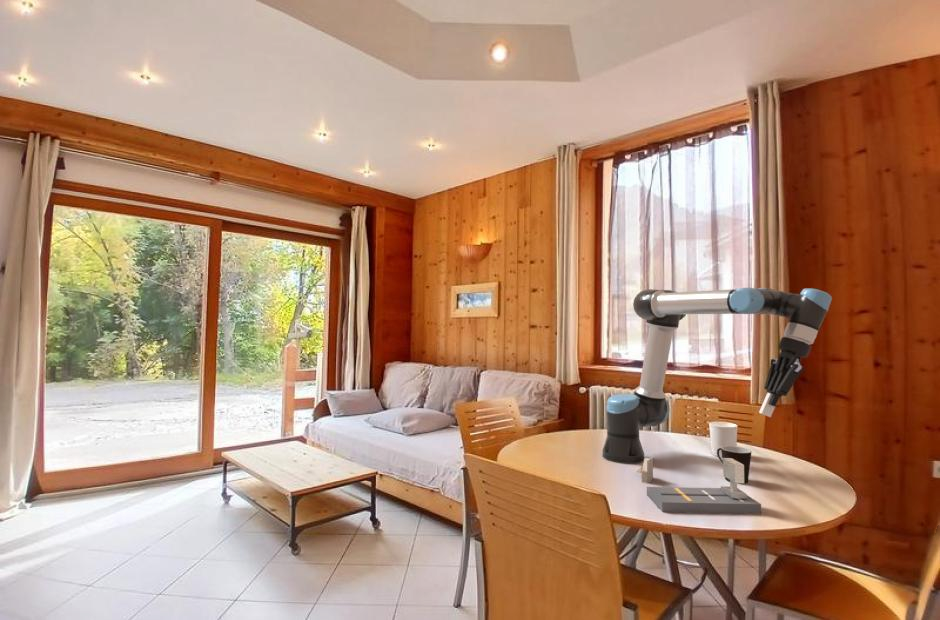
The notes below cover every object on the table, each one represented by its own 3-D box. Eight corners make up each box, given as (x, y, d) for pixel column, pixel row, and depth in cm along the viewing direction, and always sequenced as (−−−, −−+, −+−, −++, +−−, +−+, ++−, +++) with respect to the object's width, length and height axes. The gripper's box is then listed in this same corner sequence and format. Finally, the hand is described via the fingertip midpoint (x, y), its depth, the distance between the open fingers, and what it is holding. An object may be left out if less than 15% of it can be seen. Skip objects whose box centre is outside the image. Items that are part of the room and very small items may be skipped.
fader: (732, 498, 126) (732, 464, 126) (720, 490, 132) (720, 458, 132) (747, 498, 126) (746, 464, 126) (734, 490, 132) (734, 458, 132)
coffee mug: (756, 485, 144) (756, 453, 144) (726, 483, 146) (726, 452, 146) (742, 474, 156) (742, 444, 156) (714, 472, 157) (714, 443, 158)
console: (662, 511, 124) (662, 501, 124) (646, 495, 136) (646, 486, 136) (761, 513, 123) (761, 503, 123) (736, 497, 135) (736, 488, 135)
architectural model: (636, 482, 148) (636, 459, 149) (643, 477, 154) (643, 454, 154) (647, 484, 146) (647, 461, 146) (654, 479, 152) (653, 456, 152)
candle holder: (743, 459, 174) (743, 427, 174) (717, 458, 174) (717, 426, 174) (729, 452, 184) (728, 421, 184) (704, 451, 184) (704, 421, 184)
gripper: (824, 347, 127) (790, 425, 128) (796, 343, 140) (765, 414, 141) (797, 337, 128) (763, 415, 129) (772, 334, 141) (741, 405, 142)
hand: (764, 414), depth 135 cm, fingers closed
